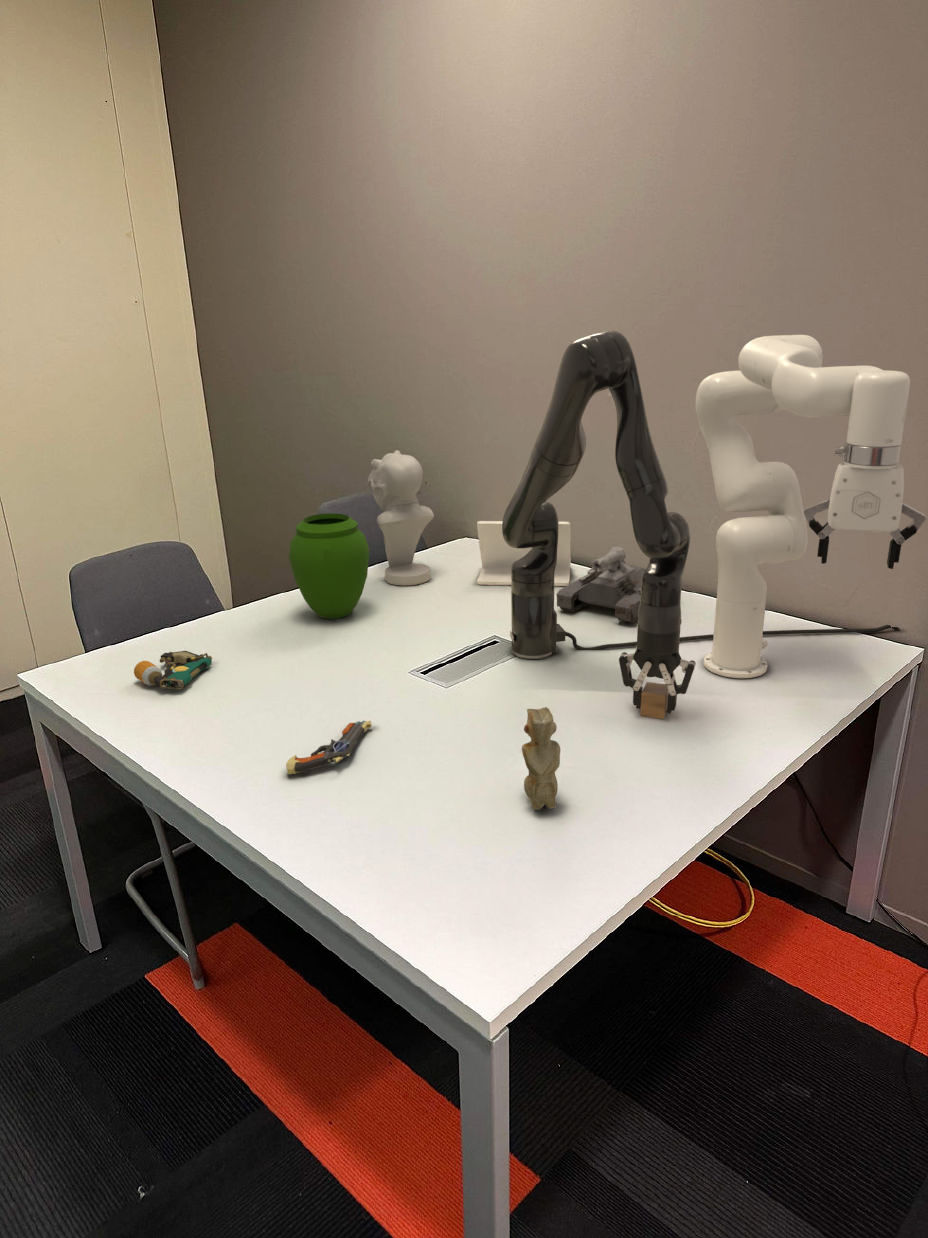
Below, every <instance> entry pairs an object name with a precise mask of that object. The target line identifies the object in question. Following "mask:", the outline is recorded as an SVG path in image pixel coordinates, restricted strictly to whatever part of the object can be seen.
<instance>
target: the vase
mask: <svg viewBox="0 0 928 1238" xmlns="http://www.w3.org/2000/svg"><path fill="white" fill-rule="evenodd" d="M358 524H359V523H358V521H356V520H355V519H353V518H352V517H350V516H349V515H347V514H344V513H335V512H334V513H333V512H331V513H320V514H313V515H310V516H307V517H305V518H303V519H302V520H301V521H300V522H299V523H298V524H297V525H296V526H295V532H296V533H295V534H294V536H293V537H292V538H291V540H290V542H289V551H288V559H289V564H290V566H291V567H290V568H291V570H292V575H293V578H294V581H295V584H296V586H297V587H298V589H299V591H300V593H301V596H302V597H303V600H304V601H305V603H306V604H307V605H308V607H309V608H310V609H311V611H312V612H314V613H315V614H316V615H317V616H318V617H320V618H324V619H326V620H327V619H329V620H336V619H341V618H345V617H347V616H349V615H350V614H351V613H352V612H353V611H354V610H355V608H356V607H357V605H358V604H359V601H360V599H361V597H362V595H363V592H364V588H365V586H366V581H367V578H368V570H369V561H370V560H369V559H370V548H369V545H368V541H367V537H366V535H365V534H364V533H363V532H362V531H361V530H360V529H359V527H358Z"/></svg>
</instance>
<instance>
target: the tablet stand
mask: <svg viewBox="0 0 928 1238" xmlns="http://www.w3.org/2000/svg"><path fill="white" fill-rule="evenodd" d="M502 522H503V520H477V522H476V531H477V537H478V544H479V551H480V557H481V558H480V559H481V570H480V573H479V575H478V577H477V580H476V581H477V582H476V584H478V585H484V586H485V585H486V586H487V585H489V586H490V585H491V586H511V567H512V564H513V563H514V562H515V561H517V560H519V559H520V558H522V557H524V556H525V555H526V554H527V553H528V552H529V551H530V550H531V549H532V547H531V548H523V549H517V548H512V547H510V546H508V545H507V544H506V542H505V540H504V538H503V534H502ZM558 522H559V533H558V548H557V564H556V568H555V571H554V587H556V586H557V587H566V586H567V585H569V584H570V580H571V579H570V578H571V565H572V564H571V560H572V558H571V522H569V521H558Z"/></svg>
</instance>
